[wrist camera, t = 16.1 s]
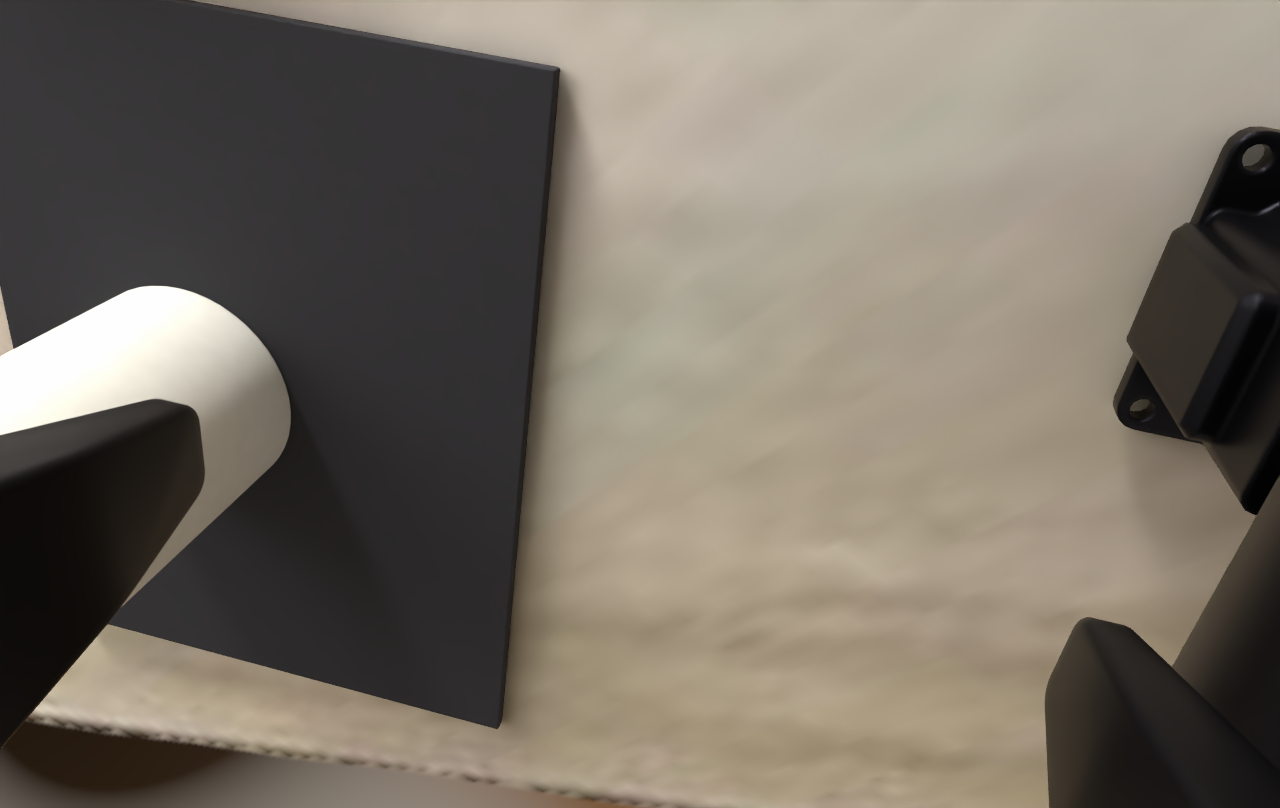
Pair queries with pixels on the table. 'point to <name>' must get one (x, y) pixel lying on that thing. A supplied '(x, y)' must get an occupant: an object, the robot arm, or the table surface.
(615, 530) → the table surface
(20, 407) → the bottle
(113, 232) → the felt mat
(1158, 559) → the table surface
